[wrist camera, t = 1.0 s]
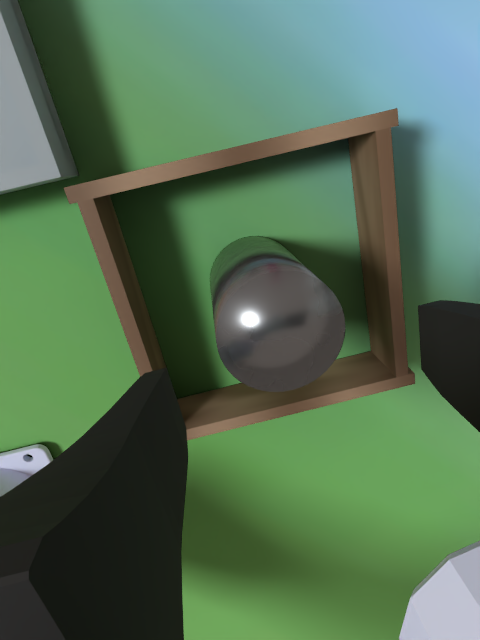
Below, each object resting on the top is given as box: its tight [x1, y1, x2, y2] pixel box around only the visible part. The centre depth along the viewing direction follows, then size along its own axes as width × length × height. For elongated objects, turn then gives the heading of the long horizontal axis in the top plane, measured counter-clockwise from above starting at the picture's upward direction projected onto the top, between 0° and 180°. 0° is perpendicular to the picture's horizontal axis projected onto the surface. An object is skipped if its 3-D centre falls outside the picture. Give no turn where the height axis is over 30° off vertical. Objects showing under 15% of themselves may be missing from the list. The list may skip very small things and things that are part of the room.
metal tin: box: [210, 236, 345, 392], centre depth 17 cm, size 4×4×7 cm
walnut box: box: [64, 108, 415, 440], centre depth 18 cm, size 13×12×3 cm
